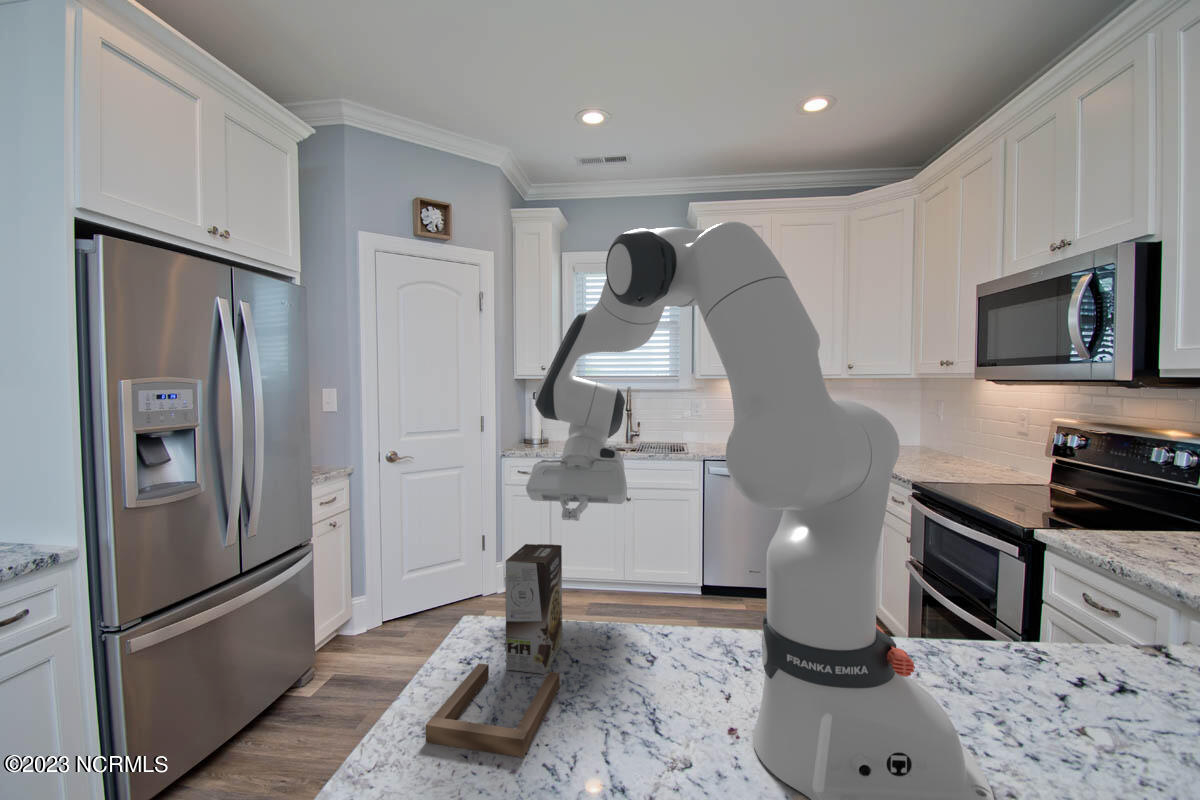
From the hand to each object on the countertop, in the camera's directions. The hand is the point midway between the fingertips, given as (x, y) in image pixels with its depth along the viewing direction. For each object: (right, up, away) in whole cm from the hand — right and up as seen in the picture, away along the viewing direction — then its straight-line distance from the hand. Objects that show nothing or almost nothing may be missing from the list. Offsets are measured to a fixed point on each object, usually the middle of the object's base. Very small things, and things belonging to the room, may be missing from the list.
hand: (570, 518), depth 95 cm
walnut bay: (-7, -17, -31) cm, 36 cm away
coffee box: (-4, -17, -19) cm, 25 cm away
